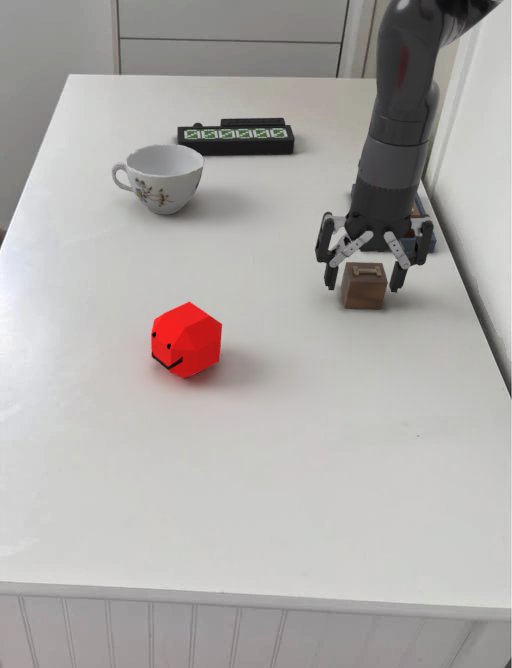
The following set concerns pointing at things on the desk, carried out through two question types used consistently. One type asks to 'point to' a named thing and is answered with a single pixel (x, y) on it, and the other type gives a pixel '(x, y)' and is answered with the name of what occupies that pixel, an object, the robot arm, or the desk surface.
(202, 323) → the ball
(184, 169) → the teacup
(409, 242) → the word tray
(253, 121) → the digital display
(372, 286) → the tile
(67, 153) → the desk surface
